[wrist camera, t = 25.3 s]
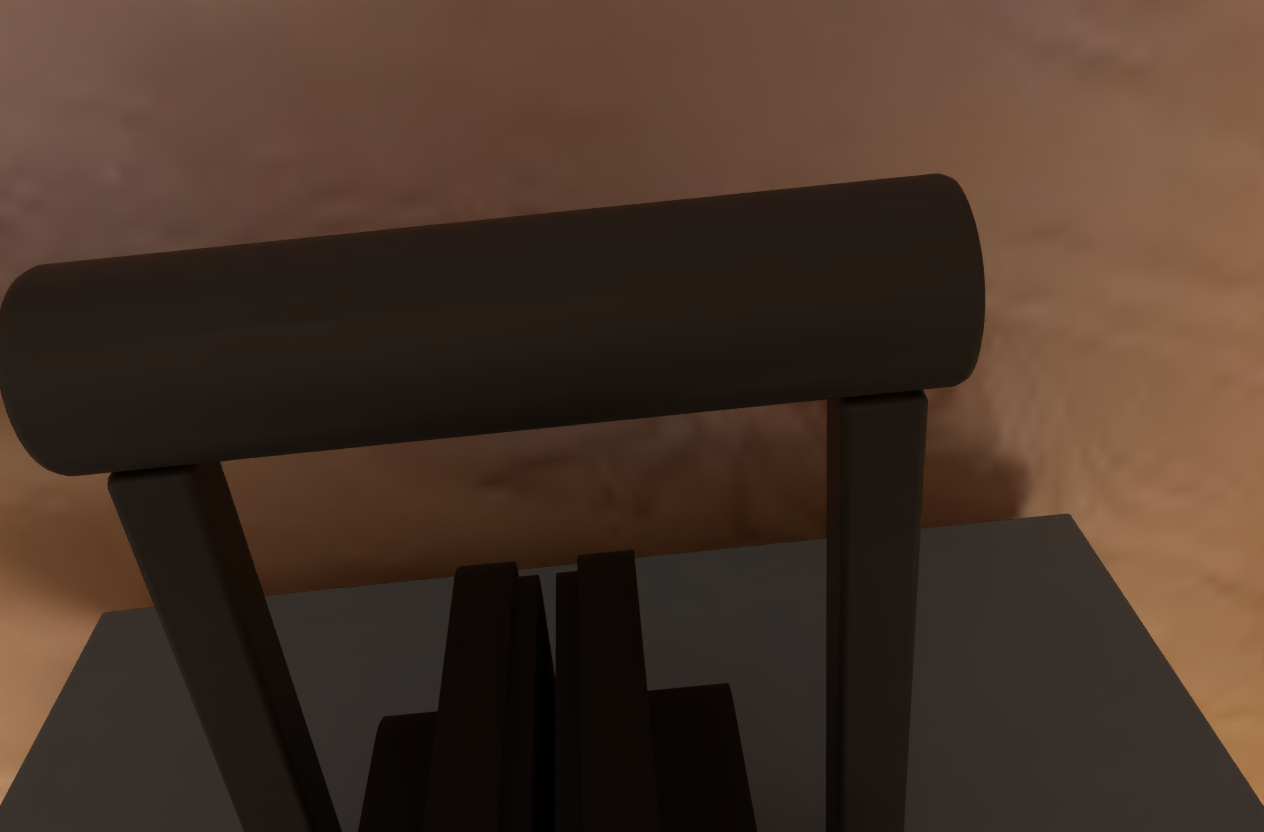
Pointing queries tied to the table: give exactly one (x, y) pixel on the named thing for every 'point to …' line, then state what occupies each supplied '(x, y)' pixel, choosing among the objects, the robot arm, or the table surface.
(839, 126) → the table surface
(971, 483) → the table surface
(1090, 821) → the drawer
